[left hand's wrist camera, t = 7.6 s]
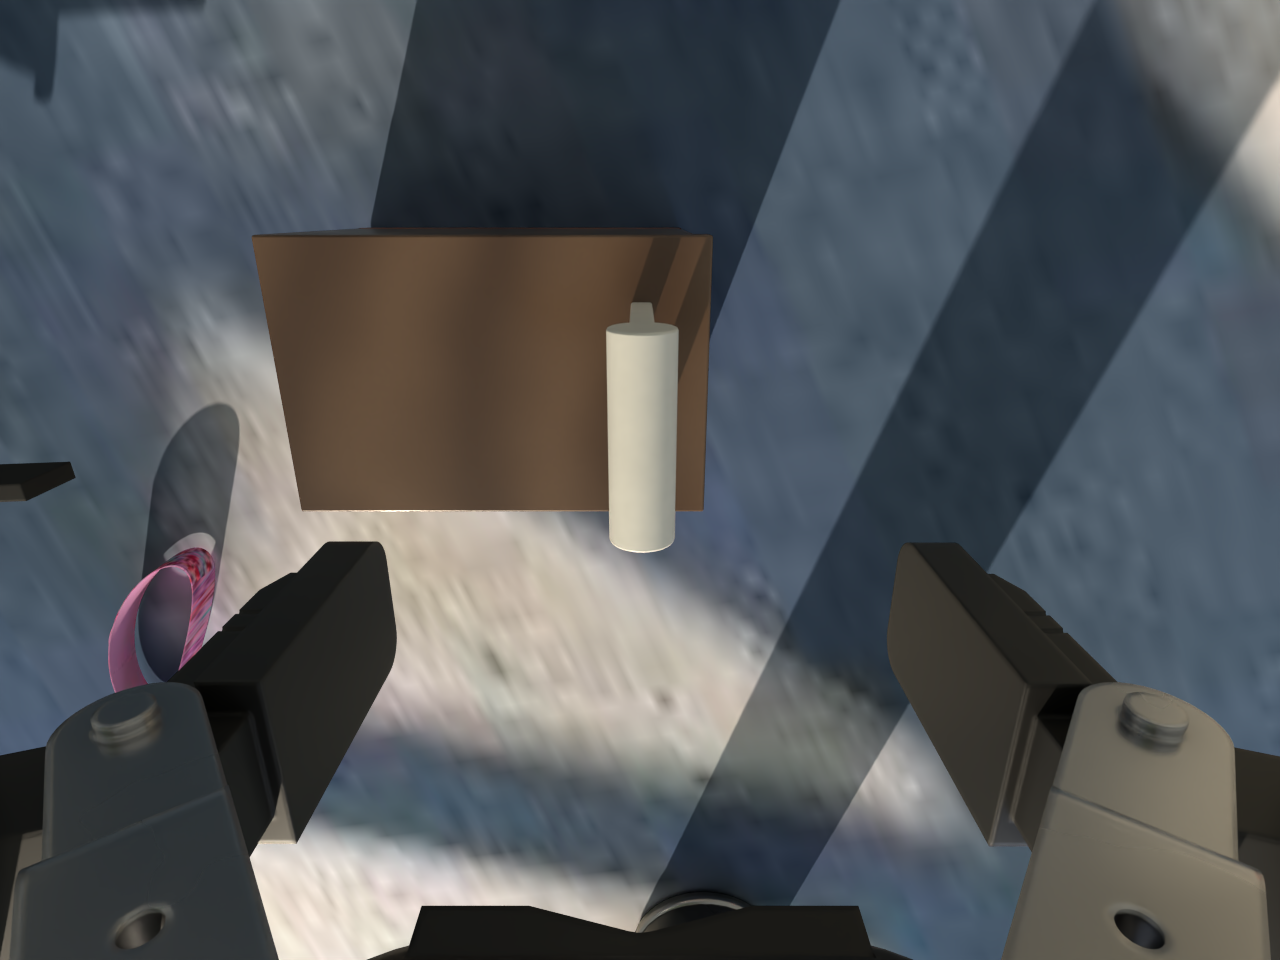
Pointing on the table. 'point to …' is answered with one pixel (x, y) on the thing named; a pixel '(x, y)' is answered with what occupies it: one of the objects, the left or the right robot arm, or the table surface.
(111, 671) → the pink hollow oval piece
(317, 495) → the lid
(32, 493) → the right robot arm
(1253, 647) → the table surface
